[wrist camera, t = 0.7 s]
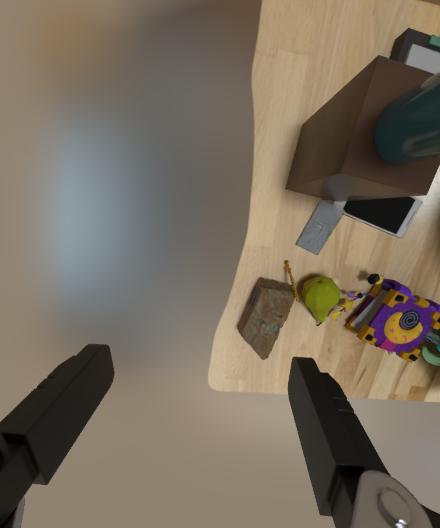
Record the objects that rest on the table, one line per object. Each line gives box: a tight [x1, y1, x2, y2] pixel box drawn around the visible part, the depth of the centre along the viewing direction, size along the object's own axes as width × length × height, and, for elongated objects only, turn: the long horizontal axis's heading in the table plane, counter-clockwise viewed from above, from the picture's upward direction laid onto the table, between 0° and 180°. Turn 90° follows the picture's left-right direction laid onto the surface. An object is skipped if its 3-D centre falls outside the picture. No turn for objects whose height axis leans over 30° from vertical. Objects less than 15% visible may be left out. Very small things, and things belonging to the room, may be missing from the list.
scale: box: [390, 28, 440, 74], centre depth 32 cm, size 14×13×3 cm
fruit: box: [302, 276, 340, 326], centre depth 38 cm, size 6×6×12 cm
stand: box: [285, 55, 440, 202], centre depth 27 cm, size 10×10×15 cm
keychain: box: [285, 261, 299, 302], centre depth 36 cm, size 8×1×1 cm
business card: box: [296, 199, 345, 255], centre depth 37 cm, size 9×5×1 cm, turn 156°
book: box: [332, 274, 440, 363], centre depth 36 cm, size 15×25×12 cm, turn 64°
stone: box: [237, 278, 295, 360], centre depth 38 cm, size 14×7×5 cm, turn 160°
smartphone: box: [332, 196, 423, 238], centre depth 37 cm, size 7×16×1 cm, turn 69°
